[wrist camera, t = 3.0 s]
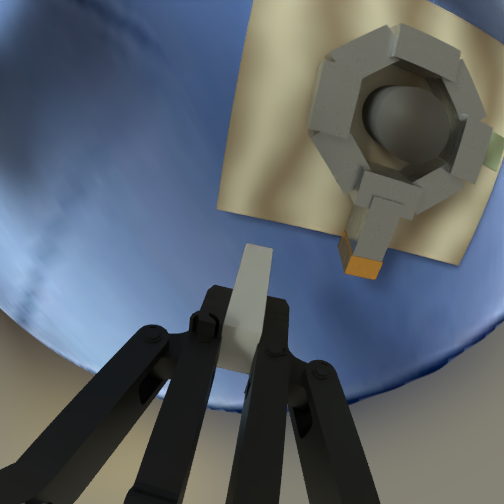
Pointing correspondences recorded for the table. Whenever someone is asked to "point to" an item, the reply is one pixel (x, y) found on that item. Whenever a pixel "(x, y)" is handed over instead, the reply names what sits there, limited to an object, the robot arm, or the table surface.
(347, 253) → the grey handled ring
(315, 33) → the collar base
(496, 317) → the table surface
